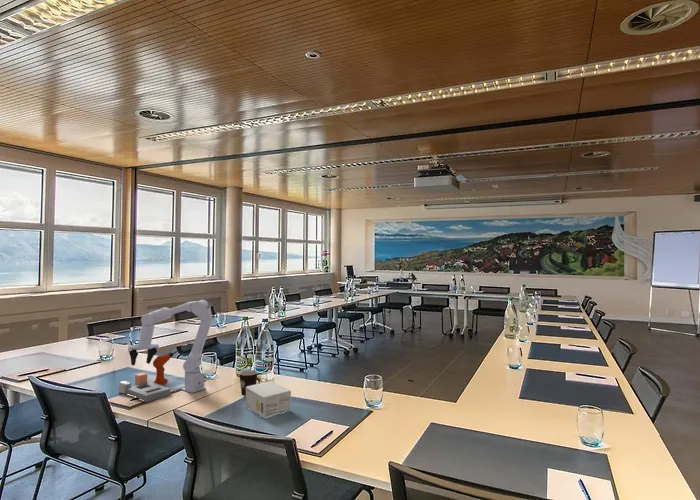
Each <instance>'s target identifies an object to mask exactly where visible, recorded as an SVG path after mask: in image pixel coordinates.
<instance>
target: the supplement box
mask: <svg viewBox="0 0 700 500" xmlns="http://www.w3.org/2000/svg"><path fill="white" fill-rule="evenodd" d="M245 408H246V409H248V408H249V409H248V410H250V409H251V410H252V411H251V410H250V411H251V412H253V411H254V412H256V413H257V414H259V415H260V416H262V417H264V418H265V417H268V416H271V415H275V414H278V413H282V412H285V411H289V410H291V411H292V390H290V389H288V388H286V387H284V386H282V385H280V384H278V383H276V382H275V381H272V380H269V381H264V382H260V384H258V383H256V384H255V385H251V386H247V387H246V396H245ZM254 412H253V413H254ZM256 413H255V414H256ZM257 414H256V415H257ZM259 415H258V416H259ZM260 416H259V417H260ZM262 417H261V418H262Z"/></svg>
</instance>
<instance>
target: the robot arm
mask: <svg viewBox="0 0 700 500" xmlns="http://www.w3.org/2000/svg"><path fill="white" fill-rule="evenodd" d="M211 307H212V306H211V305H210V303H209V302H208V300H206V299H199V300H194V301H189V302H188V301H187V302H186V303H182V304H180V305H177V306H175V307H171V308H169V307H165V306H163V307H160V309H157V310H151V312H148V313H145V314H142V317H141V319H140V322H141V328H140V333H139V338H138V344H133V345H128V347H127V351H128V354H129V356H130V362H131V363H130V365H132V366H135V365H136V361H137V357H138V356H139V352H138V351H143V350H147V356H146V363H147V364H148V365H150V363H151V362H152V360H153V358H154V356H155V355H156V354H157V353H158V350H159V347H160V345H159V344H157V343H156V344H154V343H153V344H152V342H153V341H152V339H153V336H154V330H155V325H156V323H160V322H162V321H165V320H168V319H171V317H172V316H173V315H175V314H176V315H177V314H178V313H182V312H185V311H186V312H189V313H193V314H194V315H195V316H196V317H197V318H198V320H199V321H200V323H199V327H198V330H197V333H196V336H195V338H194V342H193V344H192V347H191V351H190V353H189V354H188V356H187V358H186V360H185V361H184V363H182V364H183V365H182V367H183V368H182V369H183V370H184V387H181V388H180V390H182V391H185V392H187V393H191V394H193V393H196V392H199V391H203V390H205V389H206V387H205V374H204V373H202V371H201V367H200V366H201V365H202V356H203V354H202V352H203V349H204V346H205V345H206V344H205V343H206V341H207V338H208V335H209V332H210V331H209V330H210V329H211V325H212V322H213V320H214V319H213V315H212V309H211Z"/></svg>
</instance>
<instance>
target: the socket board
mask: <svg viewBox="0 0 700 500" xmlns="http://www.w3.org/2000/svg"><path fill="white" fill-rule="evenodd" d="M126 394H130V395H133V396H136V397H138V398H140V399H142V400H144V401H145V402H144V401H143V402H144V403H148V402H153V401H155V400H158V399H162V398H165V397H169V396H171V395H172V389H171V388H170V387H168V386H164V385H163V384H162V385H159V384H156V383H154V381H147V383H143V384H140V385H136V386H135V385H133V386H132V385H131V387H129V388H126Z"/></svg>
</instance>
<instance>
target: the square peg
mask: <svg viewBox="0 0 700 500" xmlns="http://www.w3.org/2000/svg"><path fill="white" fill-rule="evenodd" d="M134 378H135V379H134V383H135V384H134V386H136V385H140V384H143V383H147V382H148V373H146V372H140V373H135V376H134Z"/></svg>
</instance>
